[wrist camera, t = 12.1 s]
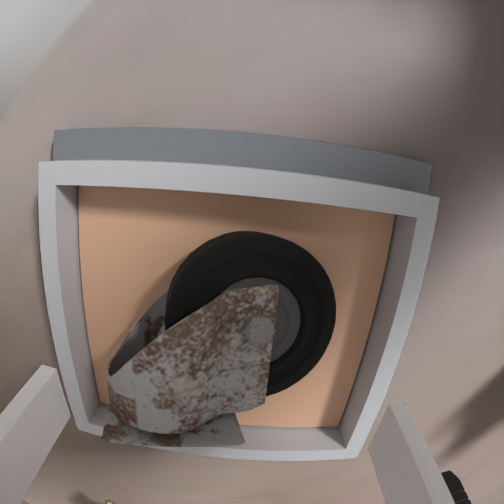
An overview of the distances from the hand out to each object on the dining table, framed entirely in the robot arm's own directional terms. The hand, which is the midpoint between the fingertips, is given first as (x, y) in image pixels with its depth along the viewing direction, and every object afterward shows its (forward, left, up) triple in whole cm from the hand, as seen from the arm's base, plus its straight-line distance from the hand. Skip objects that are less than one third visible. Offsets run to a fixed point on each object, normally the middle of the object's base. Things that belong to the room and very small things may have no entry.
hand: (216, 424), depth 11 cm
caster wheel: (-1, -1, -8) cm, 8 cm away
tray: (0, 0, -9) cm, 9 cm away
